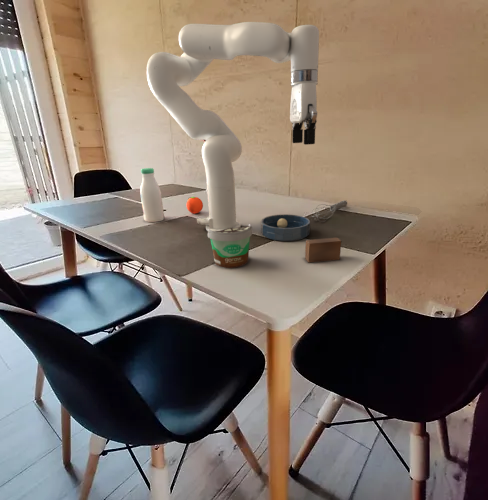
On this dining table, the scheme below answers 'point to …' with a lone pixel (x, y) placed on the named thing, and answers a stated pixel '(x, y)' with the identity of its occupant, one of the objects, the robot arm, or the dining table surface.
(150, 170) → the milk bottle
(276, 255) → the dining table surface
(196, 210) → the clementine
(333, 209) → the kitchen whisk
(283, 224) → the dough ball
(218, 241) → the food container
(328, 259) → the brown wooden block
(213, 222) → the robot arm
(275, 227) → the bowl
